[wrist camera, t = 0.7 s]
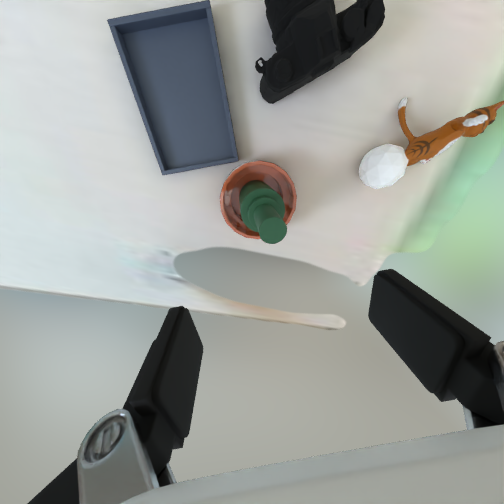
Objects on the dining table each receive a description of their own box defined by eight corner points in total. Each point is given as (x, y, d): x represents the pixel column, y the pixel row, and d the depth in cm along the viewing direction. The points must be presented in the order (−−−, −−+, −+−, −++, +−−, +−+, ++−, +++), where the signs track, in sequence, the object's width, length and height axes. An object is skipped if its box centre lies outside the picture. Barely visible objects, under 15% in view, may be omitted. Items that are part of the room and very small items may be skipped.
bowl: (214, 167, 32) (210, 169, 27) (285, 154, 32) (294, 153, 27) (229, 233, 38) (229, 244, 33) (290, 221, 38) (298, 231, 33)
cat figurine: (381, 185, 26) (564, 99, 20) (344, 112, 27) (508, 10, 21) (360, 203, 38) (471, 152, 32) (335, 152, 39) (439, 94, 33)
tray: (117, 31, 24) (106, 19, 22) (211, 13, 24) (209, -1, 22) (167, 174, 32) (162, 175, 30) (238, 160, 32) (238, 160, 30)
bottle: (236, 183, 33) (236, 206, 17) (270, 176, 33) (301, 194, 17) (242, 216, 36) (248, 262, 20) (274, 210, 36) (304, 252, 20)
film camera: (342, -39, 23) (398, -142, 15) (357, 58, 27) (408, 17, 19) (232, 33, 25) (231, -25, 17) (262, 113, 29) (273, 97, 21)
